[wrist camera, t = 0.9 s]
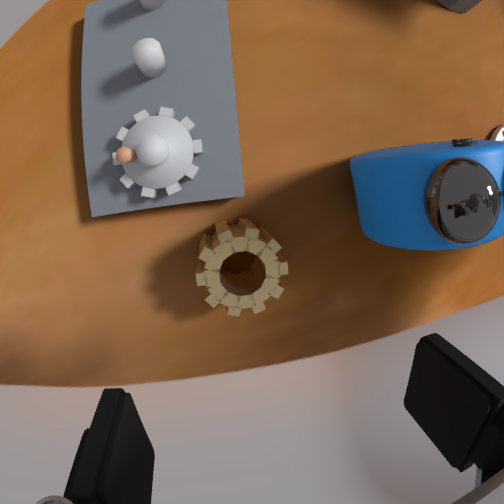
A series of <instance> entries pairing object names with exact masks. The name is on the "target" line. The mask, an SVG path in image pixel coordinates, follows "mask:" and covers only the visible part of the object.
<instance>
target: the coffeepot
mask: <svg viewBox="0 0 504 504" xmlns="http://www.w3.org/2000/svg"><path fill="white" fill-rule="evenodd" d="M437 1H438V2H439V3H440V4H442V5H443V6H445V7H446V8H447V9H450V10H452V11H455V12H462V13H466V12H467V11H469V10H470V9H471V8H473V7H474V6H475V5H476V4H478V3H479V2H480V1H482V0H437Z"/></svg>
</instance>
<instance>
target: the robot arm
mask: <svg viewBox="0 0 504 504" xmlns="http://www.w3.org/2000/svg"><path fill="white" fill-rule="evenodd" d="M490 140H494V141H502V142H504V125H501V126H499V127H497V129H496V130H495V131H494V132H493V134H492V136H491V138H490ZM404 406H405V408H406V410H407V411H408V412H409V413H410V414H411V416H412V417H413V418H414V420H415V421H416V422H417V423H418V425H419V426H420V427H421V428H422V430H423V431H424V432H425V433H426V435H427V436H428V437H429V438H430V439H431V441H432V442H433V443H434V444H435V446H436V447H437V448H438V449H439V451H440V452H441V453H442V455H443V456H444V457H445V458H446V460H447V461H448V462H449V463H450V465H451V466H452V467H454V468H457V469H458V470H459V471H460V472H463V471H464V470H466V469H468V468H469V467H471V466H472V465H473V463H475V465H476V466H477V470H476V480H475V489H474V490H473V491H471V492H469V493H468V494H466V495H465V496H463V497H462V498H460V499H458V500H457V501H455V502H454V503H452V504H504V386H503V385H501V384H500V383H499V382H498V381H497V380H496V379H494V378H493V377H492V376H491V375H489V374H488V373H487V372H486V371H484V370H483V369H482V368H481V367H480V366H478V365H477V364H476V363H475V362H473V361H472V360H471V359H469V358H468V357H467V356H466V355H464V354H463V353H462V352H461V351H459V350H458V349H457V348H456V347H454V346H453V345H452V344H450V343H449V342H447V341H446V340H445V339H444V338H443V337H441V336H440V335H439V334H437V333H433V334H430V335H427V336H424V337H422V338H421V339H420V340H419V343H418V344H417V345H416V349H415V354H414V359H413V364H412V369H411V373H410V377H409V382H408V386H407V390H406V394H405V397H404ZM154 458H155V455H154V450H153V447H152V444H151V442H150V440H149V438H148V435H147V433H146V431H145V429H144V427H143V424H142V422H141V419H140V417H139V415H138V412H137V409H136V407H135V405H134V402H133V399H132V397H131V394H130V393H125V391H124V390H123V389H122V388H110V389H104V390H103V393H102V395H101V398H100V401H99V403H98V406H97V409H96V412H95V415H94V418H93V420H92V423H91V426H90V428H89V429H86V430H85V431H84V433H83V436H82V439H81V442H80V445H79V448H78V450H77V453H76V456H75V460H74V463H73V466H72V469H71V472H70V476H69V479H68V482H67V486H66V489H65V492H64V496H63V497H61V496H48V497H45V498H43V499H41V500H40V501H38V502H37V503H36V504H151V495H152V482H153V469H154Z"/></svg>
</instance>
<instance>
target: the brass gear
mask: <svg viewBox="0 0 504 504" xmlns="http://www.w3.org/2000/svg"><path fill="white" fill-rule="evenodd" d="M215 226H216V232H215V233H214V234H212V235H211V236H210V235H208V234H207V233H204V235H203V237H202V238H201V240H200V242H199V255H197V262H196V280H197V286H203V285H204V294H205V301H206V302H208V303H209V304H210V305H211V306H212V307H213V308H214V307H215V306H216V305H218V304H219V303H220V304H223V305H225V306H226V310H227V315H232V316H239V317H240V312H241V309H245V308H252V310H253V312H254V314H257V313H259V312H261V311H263V310H266V308H265V306H264V303H263V302H264V301H265V300H266V299H268V298H269V297H271V296H273V297H275V298H277V299H278V298H279V297H280V295H281V293H282V292H283V290H284V287H283V286H282V284H281V283H280V281H279V280H280V279H279V277H280V275H286V274H288V262H287V261H286V260H285V258H284V257H283V256H282V255H281V254H280V253H279V252H278V251H279V250H280V249H281V248H282V247H281V246H280V245H279V244H278V243H277V242H276V240H275V239H274V238H273V237H272V236H271V235H270V234H269V233H268V232H267V231H266V230H265V229H264V228H263V227H261V226H260V227H259V228H257V227H256V226H255V225H254V224H253V223H252V222H251V221H250V219H246V218H241V217H239V218H238V222H237V224H235V225H228V224H227V222H226V220H225V219H223V220H221V221H219V222H216V223H215ZM242 251H248V252H251V253H253V254H255V259H254V261H253V263H252V265H251V267H250V268H248V269H247V270H246V271H244V272H243V273H237V274H231V273H229V272H226V271H224V270H223V269H222V268H221V265H222V263H223V261H224V260H225V259H226V258H227V257H229V256H230V255H231V254H233V253H234V252H242ZM270 295H271V296H270Z"/></svg>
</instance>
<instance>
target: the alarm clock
mask: <svg viewBox="0 0 504 504" xmlns="http://www.w3.org/2000/svg"><path fill="white" fill-rule="evenodd" d="M350 168H351V173H352V178H353V183H354V189H355V194H356V200H357V205H358V211H359V218H360V224H361V229H362V231H363V233H364V234H365V235H366V236H367V237H368V238H370V239H372V240H373V241H376V242H378V243H381V244H384V245H387V246H391V247H396V248H402V249H411V250H451V249H460V248H466V247H472V246H477V245H481V244H484V243H487V242H490V241H493V240H495V239H497V238H499V237H501V236H503V235H504V142H502V141H494V140H472V139H469V138H468V139H460V140H459V139H455V140H452V141H448V142H435V143H425V144H417V145H409V146H402V147H395V148H389V149H383V150H377V151H372V152H368V153H364V154H360V155H357V156H354V157H352V158H351V160H350Z"/></svg>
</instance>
